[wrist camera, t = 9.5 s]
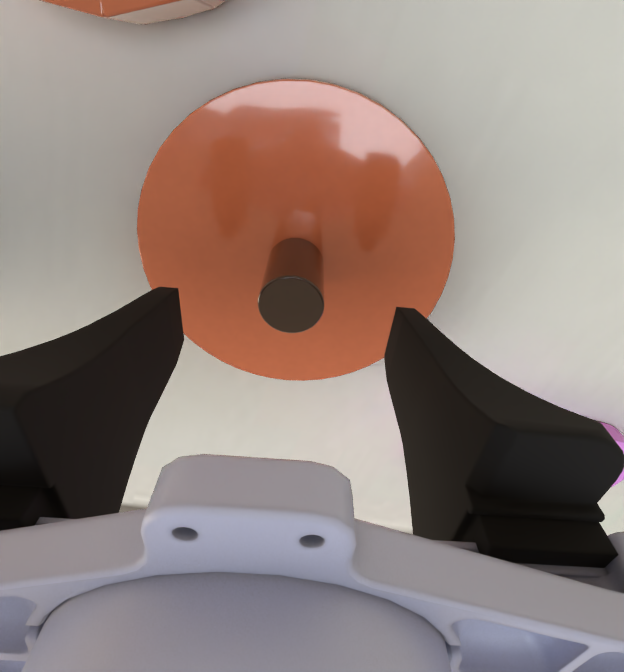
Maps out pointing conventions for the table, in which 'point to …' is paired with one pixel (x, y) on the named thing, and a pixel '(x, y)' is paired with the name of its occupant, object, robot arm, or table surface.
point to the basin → (139, 8)
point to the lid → (295, 227)
